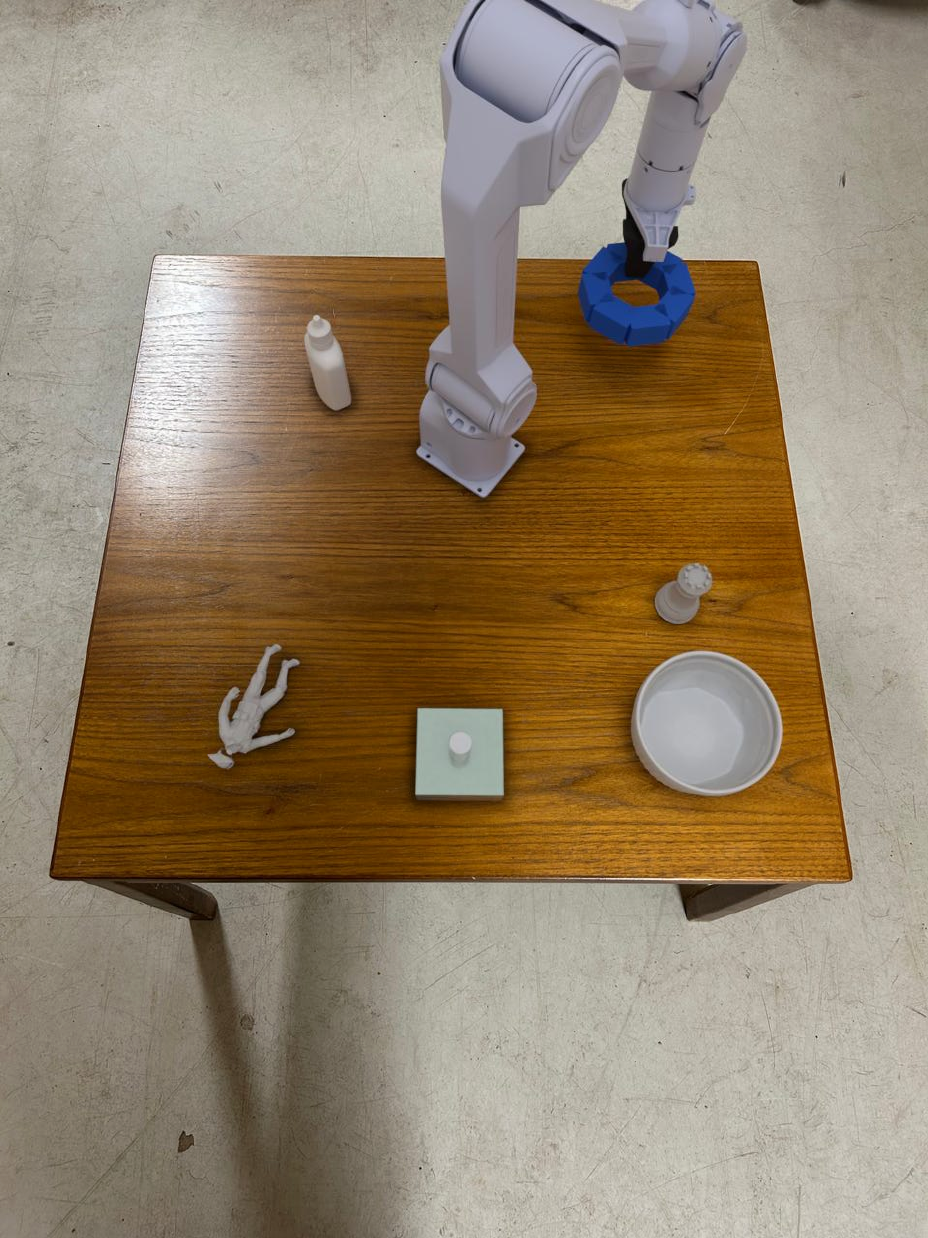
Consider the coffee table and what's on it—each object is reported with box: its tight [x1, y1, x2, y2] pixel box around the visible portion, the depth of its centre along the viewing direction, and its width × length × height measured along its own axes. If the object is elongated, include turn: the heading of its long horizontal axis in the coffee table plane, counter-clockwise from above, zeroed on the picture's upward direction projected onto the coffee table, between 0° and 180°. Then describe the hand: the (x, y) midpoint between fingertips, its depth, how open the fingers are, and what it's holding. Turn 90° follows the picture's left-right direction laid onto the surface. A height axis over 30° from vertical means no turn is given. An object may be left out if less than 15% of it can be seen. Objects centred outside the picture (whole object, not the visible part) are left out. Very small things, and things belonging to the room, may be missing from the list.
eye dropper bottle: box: [304, 314, 352, 412], centre depth 83 cm, size 4×6×12 cm
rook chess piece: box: [654, 562, 713, 625], centre depth 77 cm, size 4×4×8 cm
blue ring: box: [577, 241, 697, 348], centre depth 84 cm, size 12×12×3 cm
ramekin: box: [630, 650, 784, 797], centre depth 73 cm, size 13×13×7 cm
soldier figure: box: [207, 643, 301, 771], centre depth 74 cm, size 8×5×12 cm
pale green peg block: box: [414, 707, 505, 802], centre depth 71 cm, size 8×8×8 cm
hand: (634, 261), depth 86 cm, fingers closed on blue ring, 3 cm apart
